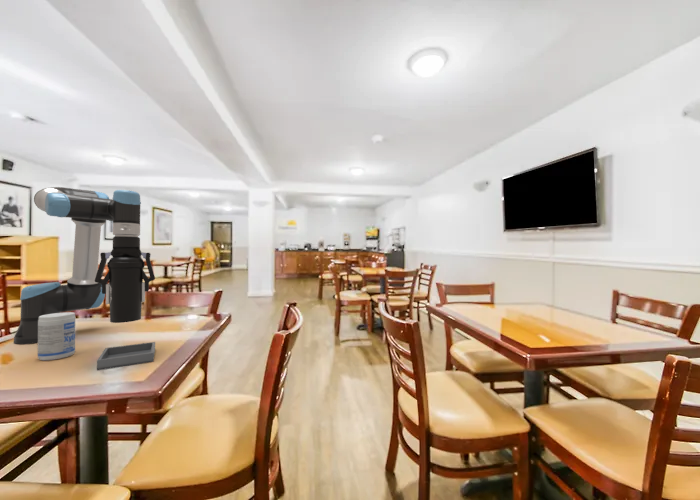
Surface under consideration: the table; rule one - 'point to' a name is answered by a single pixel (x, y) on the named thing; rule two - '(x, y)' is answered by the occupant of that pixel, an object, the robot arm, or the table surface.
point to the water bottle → (125, 287)
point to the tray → (126, 355)
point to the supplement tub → (56, 336)
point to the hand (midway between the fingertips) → (126, 302)
